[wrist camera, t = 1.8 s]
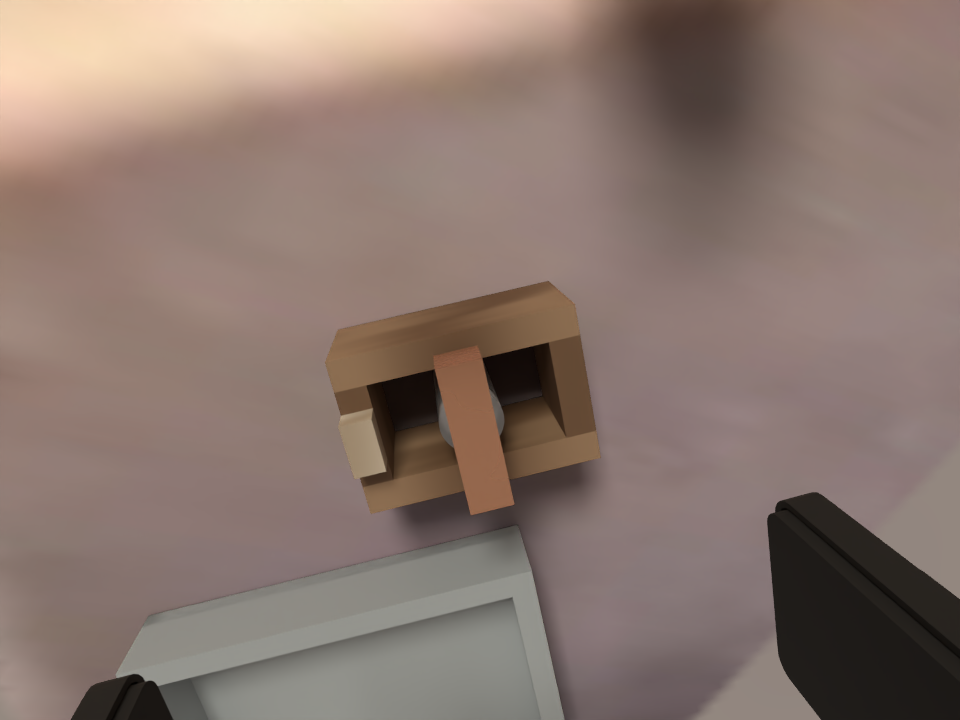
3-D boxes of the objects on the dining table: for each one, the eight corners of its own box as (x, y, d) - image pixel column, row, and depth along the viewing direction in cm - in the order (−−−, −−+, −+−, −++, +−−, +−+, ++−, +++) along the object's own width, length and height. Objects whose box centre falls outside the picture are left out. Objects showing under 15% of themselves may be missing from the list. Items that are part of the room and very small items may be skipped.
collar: (548, 280, 21) (582, 311, 17) (572, 413, 23) (608, 469, 19) (337, 329, 21) (321, 371, 17) (375, 461, 22) (369, 528, 18)
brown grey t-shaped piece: (472, 307, 21) (494, 356, 16) (498, 423, 23) (525, 501, 17) (418, 320, 21) (423, 372, 16) (447, 435, 22) (459, 518, 17)
